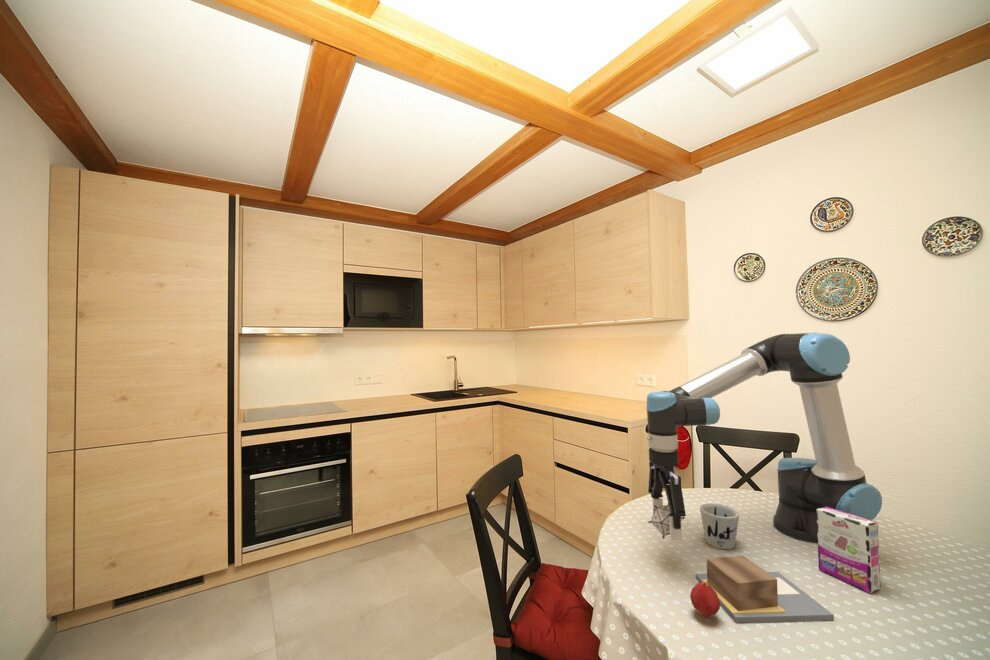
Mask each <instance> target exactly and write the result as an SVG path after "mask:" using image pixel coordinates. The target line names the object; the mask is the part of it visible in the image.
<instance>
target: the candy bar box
mask: <svg viewBox="0 0 990 660" xmlns="http://www.w3.org/2000/svg"><path fill="white" fill-rule="evenodd" d="M816 513H817V537H818V543H817V555H818V560H817V561H818V571H820V572H822V573H823V574H826V575H828V576H831V577H833V578H835V579H836V580H839V581H841V582H844V583H846V584H848V585H851V586H853V587H854V586H855V588H857V589H859V590H862V591H864V592H866V593H867V594H870V595H871V594H873V593H876V592H878V591H880V590H881V589H882V587H881V586H882V585H881V583H882V582H881V567H880V563H881V562H880V546H879V527H878V525H879V524H878V522H877V521H874V520H872V521H871V520H868V519H865V518H862V517H858V516H855V515H852V514H849V513H846V512H843V511H839V510H836V509H833V508H830V507H827V506H826V507H822V508H819V509H816Z"/></svg>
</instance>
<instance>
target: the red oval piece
mask: <svg viewBox="0 0 990 660" xmlns="http://www.w3.org/2000/svg"><path fill="white" fill-rule="evenodd" d="M689 597H690V602H691V605H692V606H693V608H694V609H695V610H696V611H697V612H698V613H699V614H700V615H701V616H702V617H703V618H705V619H708V618H711V617H712V616H715V615H716V614H718V612H719V611H720V608H721V606H720V601H719V598H718V595H717V593H716V592H715V591H714V589H713V588H712V587H711V586H709V585H708V584H707V581H703V582H701V583H699V582H698V583H696V584H695V585H694V586H693V587H692V588H691V591H690V594H689Z"/></svg>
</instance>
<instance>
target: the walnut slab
mask: <svg viewBox="0 0 990 660" xmlns="http://www.w3.org/2000/svg"><path fill="white" fill-rule="evenodd" d="M767 572H768V571H766V570H764V568H762V567H761V566H759V565H757V564H756V563H755V562H753V561H752V560H750V559H749V558H748V557H746V556H744V555H735V556H734V555H733V556H721V557H712V558H711V557H710V558H706V573H707V583H708V584H709V585H710V586H711V587H712V588H713V589H714V590H715V591H716V592H718V593H719V594H720V595H721V596H722V597H723V598H724V599H725V600H726V601H728V602H729V603H730V604H731V605H732V606H733V607H734V608H735V609H737V610H738V611H742V610H751V609H760V608H768V607H777V606H778V592H777V579H776V578H775V577H773V576H772V575H770V574H769V573H767Z"/></svg>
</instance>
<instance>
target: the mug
mask: <svg viewBox="0 0 990 660" xmlns="http://www.w3.org/2000/svg"><path fill="white" fill-rule="evenodd" d="M699 511H700V516H701V522H702V528H703V532H704V538H705V539H704V540H705V541H706V543H707V544H708V545H710V546H711V547H714V548H717V549H719V550H721V549H722V550H732V549H734V548H735V546H736V541H737V539H736V538H737V533H738V526H739V519H740V513H739V512H738V511H737V510H736V509H734V508H733V507H730V506H728V505H724V504H720V503H704V504H701V505H700V506H699Z"/></svg>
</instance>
